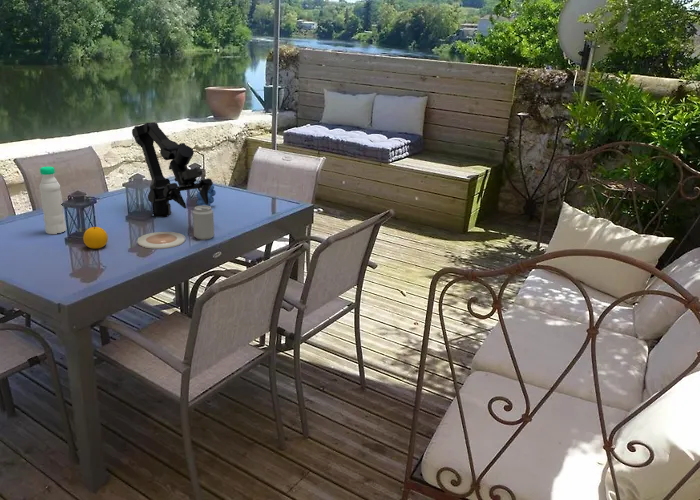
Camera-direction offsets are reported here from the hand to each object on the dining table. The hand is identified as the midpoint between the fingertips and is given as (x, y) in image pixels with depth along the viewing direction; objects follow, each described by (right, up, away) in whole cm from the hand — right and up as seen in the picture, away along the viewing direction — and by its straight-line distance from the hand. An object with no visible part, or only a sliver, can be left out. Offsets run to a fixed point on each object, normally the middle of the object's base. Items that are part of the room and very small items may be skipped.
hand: (196, 206), depth 218 cm
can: (+3, -12, +1) cm, 12 cm away
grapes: (-6, +2, +37) cm, 37 cm away
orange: (-32, -16, -14) cm, 39 cm away
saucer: (-12, -13, -5) cm, 19 cm away
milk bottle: (-53, -10, -1) cm, 54 cm away
